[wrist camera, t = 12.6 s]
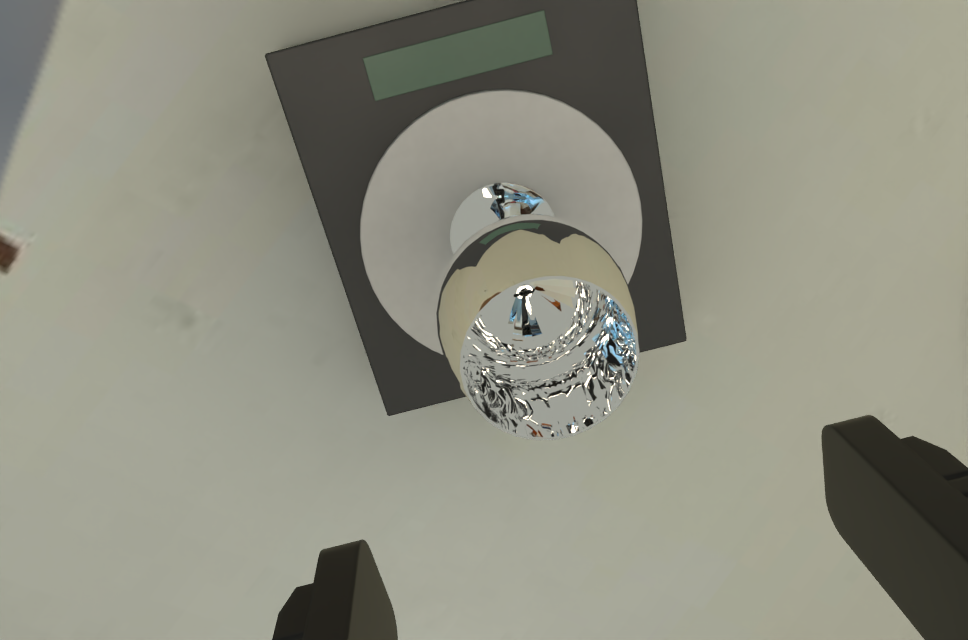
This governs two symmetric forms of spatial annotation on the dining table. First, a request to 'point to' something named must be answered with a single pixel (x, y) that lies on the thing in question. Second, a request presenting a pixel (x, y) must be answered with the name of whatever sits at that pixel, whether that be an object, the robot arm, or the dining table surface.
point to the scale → (476, 158)
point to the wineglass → (534, 316)
